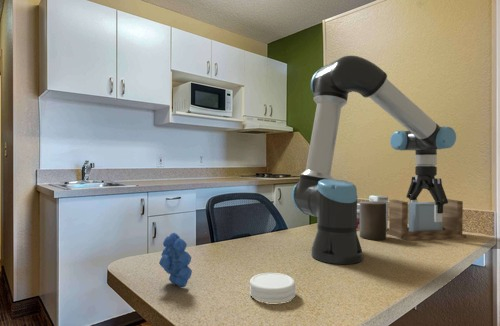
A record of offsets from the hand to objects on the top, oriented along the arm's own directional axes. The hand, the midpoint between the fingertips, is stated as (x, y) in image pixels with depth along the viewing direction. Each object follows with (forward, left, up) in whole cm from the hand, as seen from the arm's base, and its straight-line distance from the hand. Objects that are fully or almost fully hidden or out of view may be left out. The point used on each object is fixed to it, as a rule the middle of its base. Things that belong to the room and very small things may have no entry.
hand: (425, 218), depth 127 cm
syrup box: (-12, +14, -7) cm, 20 cm away
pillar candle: (-23, 0, -7) cm, 24 cm away
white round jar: (-74, -46, -7) cm, 87 cm away
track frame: (0, 0, -7) cm, 7 cm away
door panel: (0, 0, -6) cm, 6 cm away
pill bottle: (-21, +14, -7) cm, 26 cm away
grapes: (-96, -38, -7) cm, 103 cm away
